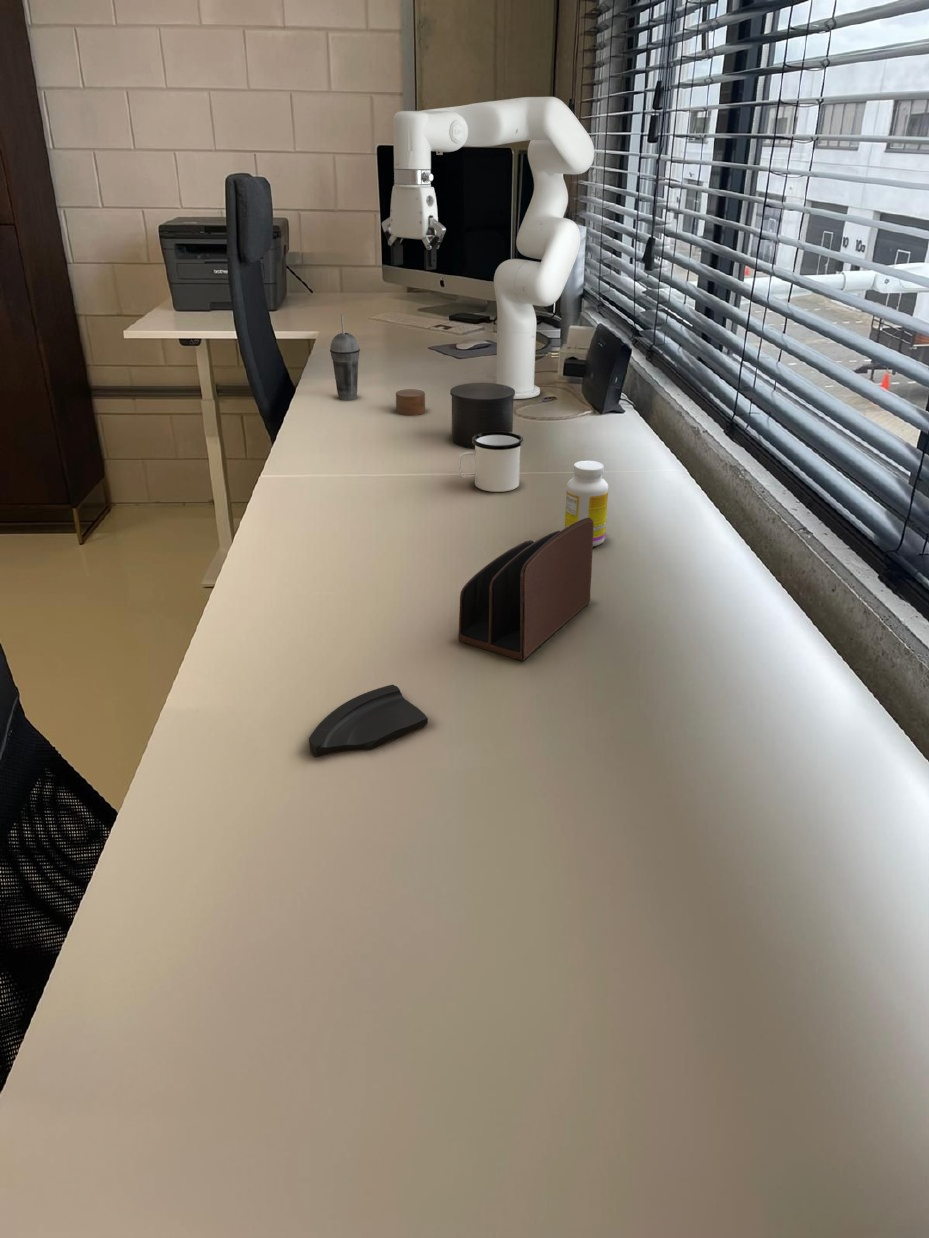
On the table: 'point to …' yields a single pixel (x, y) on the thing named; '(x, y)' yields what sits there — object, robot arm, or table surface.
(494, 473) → the mug
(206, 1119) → the table surface
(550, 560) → the letter holder
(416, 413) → the short brown cylinder
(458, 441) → the pot
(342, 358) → the beverage cup
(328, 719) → the fan shaped piece
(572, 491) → the supplement bottle
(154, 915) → the table surface
